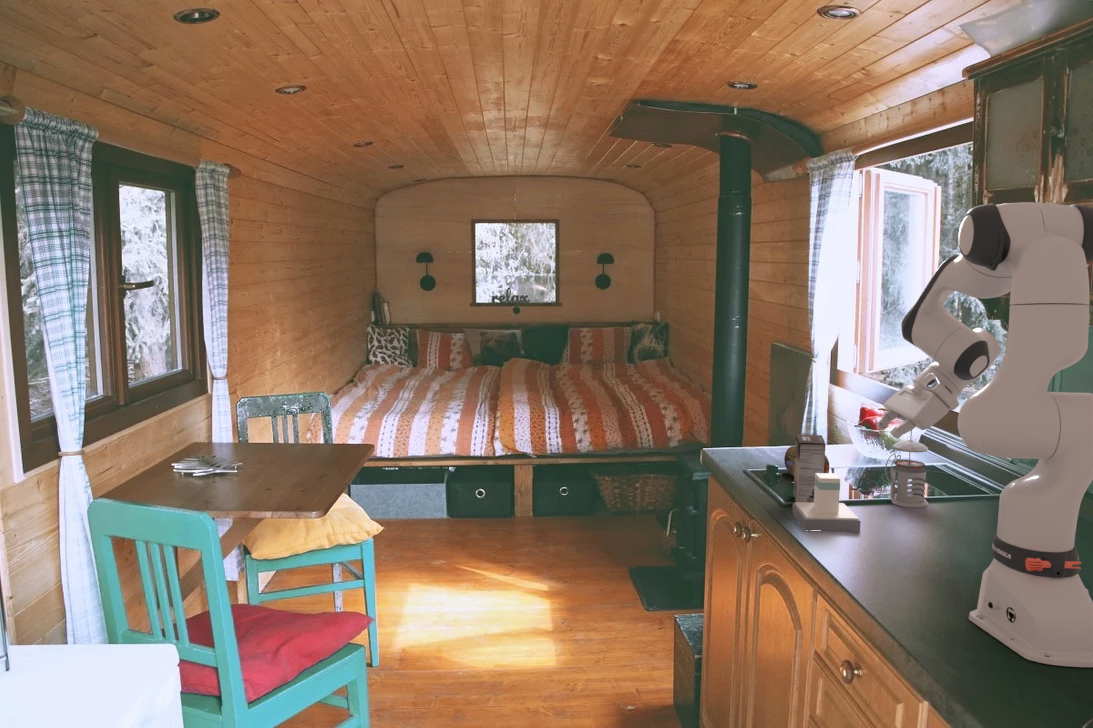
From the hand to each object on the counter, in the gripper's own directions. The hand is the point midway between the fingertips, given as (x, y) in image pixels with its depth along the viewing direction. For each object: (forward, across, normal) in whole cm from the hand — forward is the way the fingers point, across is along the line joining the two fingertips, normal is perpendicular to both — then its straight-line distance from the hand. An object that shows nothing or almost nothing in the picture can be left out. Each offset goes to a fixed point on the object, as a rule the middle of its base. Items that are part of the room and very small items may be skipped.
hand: (885, 431), depth 186 cm
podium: (+24, -1, +6) cm, 25 cm away
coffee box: (+24, -17, +6) cm, 30 cm away
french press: (+7, -19, +23) cm, 31 cm away
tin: (+20, -39, +10) cm, 45 cm away
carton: (+22, 0, +4) cm, 22 cm away
